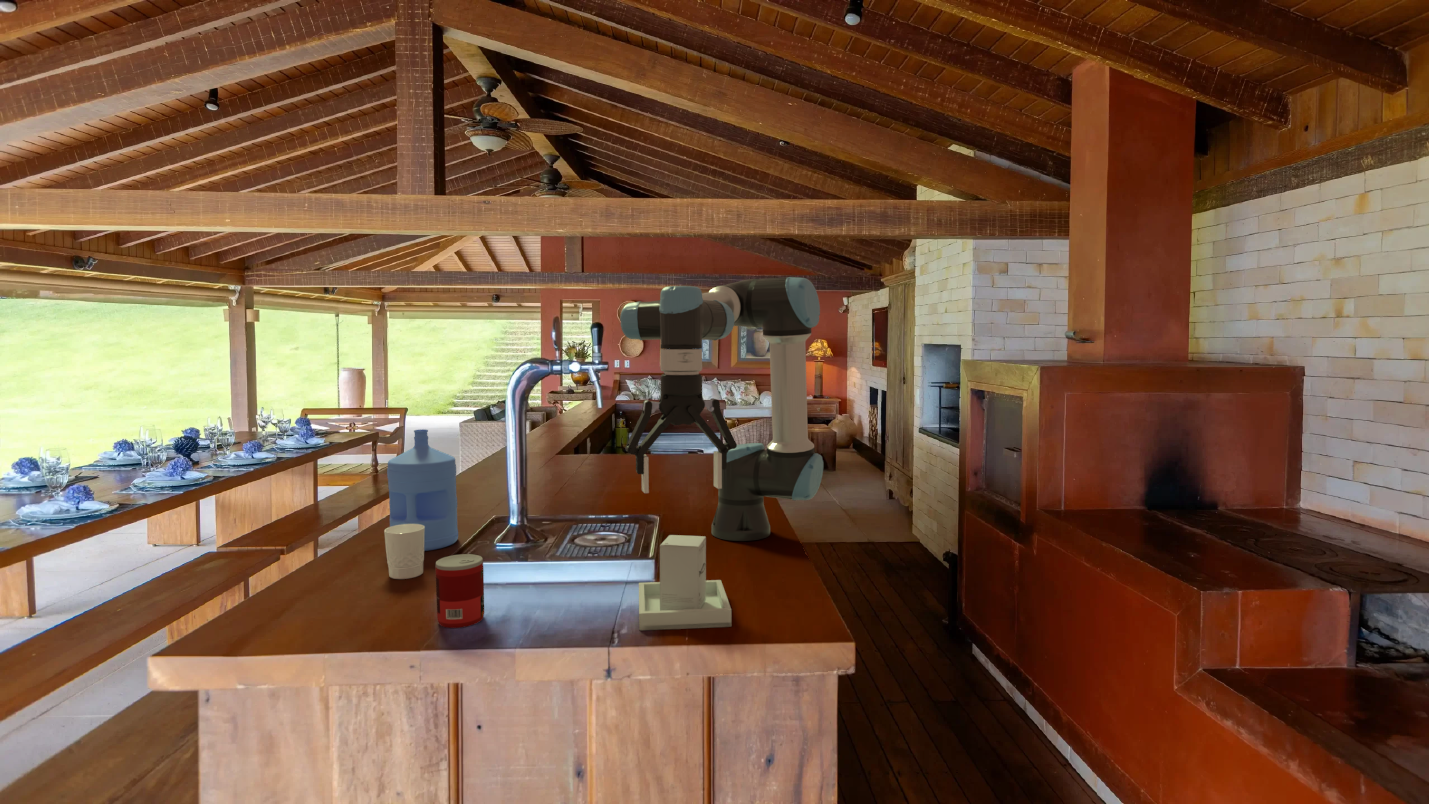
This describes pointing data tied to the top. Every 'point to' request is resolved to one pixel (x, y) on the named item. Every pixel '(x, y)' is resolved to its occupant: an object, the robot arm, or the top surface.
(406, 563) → the white cup
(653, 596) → the sage tray
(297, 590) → the top surface
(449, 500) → the water jug
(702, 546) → the supplement box
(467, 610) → the canned food
